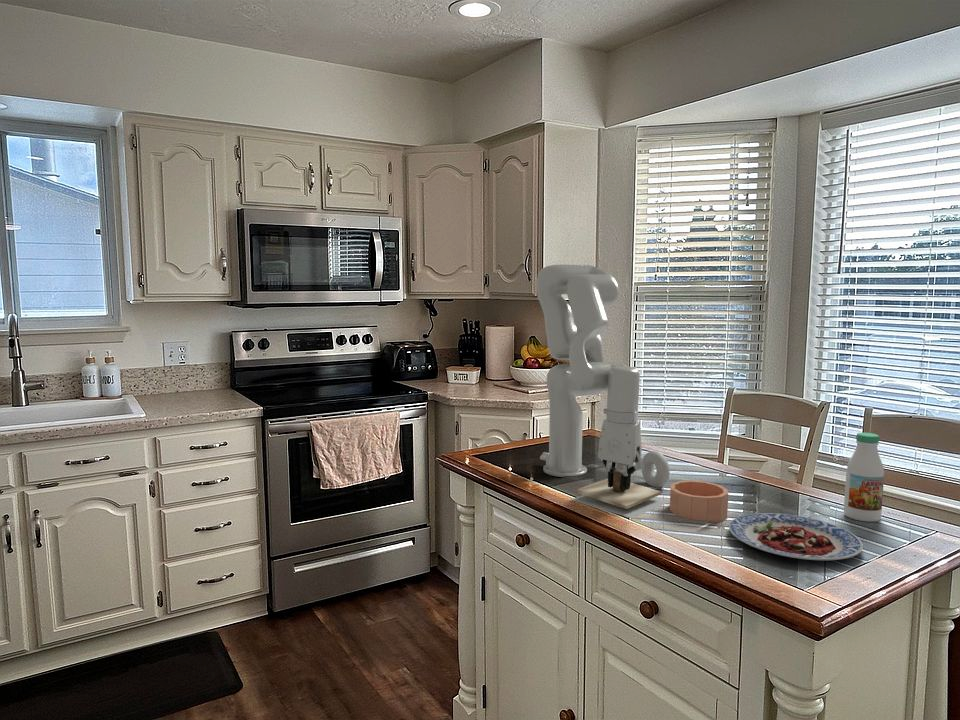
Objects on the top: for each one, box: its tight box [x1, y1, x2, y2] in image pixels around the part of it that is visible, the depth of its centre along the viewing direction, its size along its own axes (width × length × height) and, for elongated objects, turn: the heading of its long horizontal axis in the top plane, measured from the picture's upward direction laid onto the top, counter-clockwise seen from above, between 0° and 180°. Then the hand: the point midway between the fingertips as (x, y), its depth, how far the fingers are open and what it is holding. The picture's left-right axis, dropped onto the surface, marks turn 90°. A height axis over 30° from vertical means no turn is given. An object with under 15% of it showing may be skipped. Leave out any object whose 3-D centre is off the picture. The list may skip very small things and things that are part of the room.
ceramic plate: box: [728, 512, 864, 561], centre depth 142 cm, size 26×26×3 cm
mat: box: [571, 494, 670, 519], centre depth 167 cm, size 18×17×1 cm
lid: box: [575, 469, 662, 509], centre depth 167 cm, size 15×15×6 cm
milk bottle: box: [843, 432, 885, 523], centre depth 156 cm, size 8×8×20 cm
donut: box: [640, 450, 670, 489], centre depth 179 cm, size 10×3×10 cm, turn 23°
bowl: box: [669, 479, 729, 524], centre depth 159 cm, size 13×13×6 cm
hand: (618, 487), depth 167 cm, fingers closed on lid, 3 cm apart
